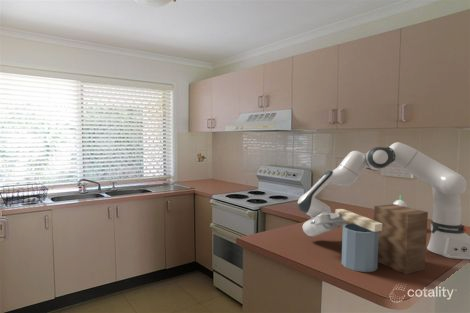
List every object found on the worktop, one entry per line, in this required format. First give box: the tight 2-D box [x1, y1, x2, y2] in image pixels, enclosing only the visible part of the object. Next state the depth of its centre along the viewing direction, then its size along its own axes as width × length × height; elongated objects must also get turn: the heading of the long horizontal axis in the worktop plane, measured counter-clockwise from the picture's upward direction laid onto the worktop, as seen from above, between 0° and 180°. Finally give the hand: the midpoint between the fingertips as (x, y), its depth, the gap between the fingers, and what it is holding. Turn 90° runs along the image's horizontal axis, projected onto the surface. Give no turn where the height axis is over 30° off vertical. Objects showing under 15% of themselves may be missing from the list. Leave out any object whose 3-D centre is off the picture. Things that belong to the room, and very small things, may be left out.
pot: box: [341, 222, 379, 273], centre depth 130 cm, size 14×14×16 cm
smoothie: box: [392, 194, 409, 208], centre depth 185 cm, size 8×8×20 cm
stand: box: [373, 203, 429, 275], centre depth 131 cm, size 16×12×24 cm
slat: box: [334, 208, 382, 232], centre depth 131 cm, size 22×4×3 cm, turn 24°
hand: (344, 213), depth 138 cm, fingers closed on slat, 4 cm apart
